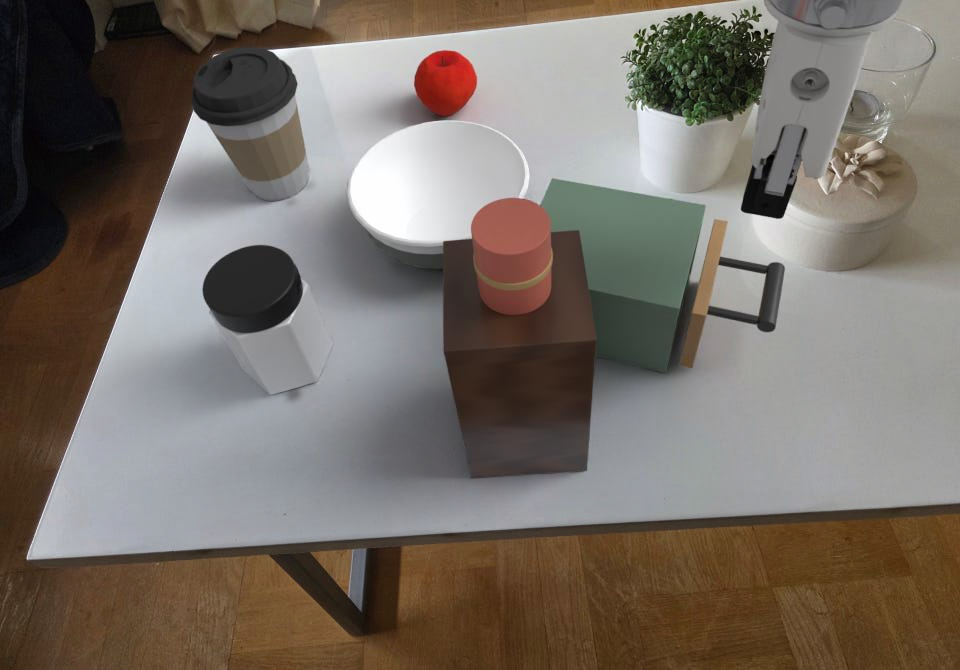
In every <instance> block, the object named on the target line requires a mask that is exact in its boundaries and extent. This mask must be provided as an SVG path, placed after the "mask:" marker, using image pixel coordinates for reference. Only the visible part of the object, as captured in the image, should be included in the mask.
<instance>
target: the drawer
mask: <svg viewBox="0 0 960 670" xmlns="http://www.w3.org/2000/svg"><path fill="white" fill-rule="evenodd" d="M728 223H729V222H728V220H722V219H717V218H715V219H713V223H712V227H711V231H710V236H709V240H708V244H707V248H706V252H705V256H704V260H703V264H702V268H701V273H700V277H699V281H698V285H697V289H696V293H695V298H694V302H693V306H692V309H691V314H690V318H689V323H688V326H687V331H686V335H685V339H684V343H683V347H682V352H681V356H680V359H679V366H681V367H685V368H689V369H693V368H694V363H695V361H696V356H697V353H698V350H699V345H700V341H701V339H702V334H703V330H704V326H705V323H706V319H707V315H708V316H713V317H717V318H721V319H726V320H732V321H736V322H740V323H745V324H748V325H749V324H750V325H755V326H756V328H757V329H758V331H761V332H762V333H772V332H773V331H775V330H776V327H777V322H778V315H779V310H780V304H781V303H780V302H781V298H782V297H781V296H782V291H783V285H784V277H785V270H786V267H785V265H784V264H783V263H781V262H778V261H773V262H770V263H769V264H768V265H766V264H761V263H756V262H751V261H745V260H740V259H736V258H730V257H725V256H721V253H722V249H723V244H724V241H725V237H726V231H727V227H728ZM718 266H721V267H725V268H731V269H736V270H741V271H748V272H751V273H757V274H762V275H765V277H764V283H763V288H762V289H763V290H762V294H761V298H760V299H761V300H760V305H759V311H758V315H755V314H750V313H746V312H742V311H738V310H737V311H736V310H731V309H728V308H722V307H717V306H713V305H710V302H711V297H712V293H713V288H714V285H715V279H716V276H717V272H718V268H719V267H718Z"/></svg>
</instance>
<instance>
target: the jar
mask: <svg viewBox="0 0 960 670" xmlns="http://www.w3.org/2000/svg"><path fill="white" fill-rule="evenodd" d="M201 291H202V296H203V297H202V298H203V300H204V302H205V304H206V305H207V308H208V309H209V310H208V314H209V316H210V317H211V319H212V320H213V323H214V324H215V325H216V327H217V329H218V330H219V332H220V334H221V335H222V337H223V338H224V340H225V342H226V343H227V345H228V347H229V348H230V351H232V353H233V355H234V356H235V358H236V360H237V361H238V363H239V364H240V366H241V368H242V369H243V371H244V372H246V374H247V375H249V376H250V378H252V379H253V380H254V381H255V382H256V383H257V384H258V385H259V386H261V387H262V388H263V390H264V391H265V392H266V393H268V394H269V395H271V396H273V395H276V394H277V395H278V394H280V393H283V392H286V391H290V390H293V389H297V388H301V387H303V386H307V385H311V384H315V383H316V382H318V381H319V378H320V376H321V374H322V372H323V369H324V367H325V365H326V362H327V360H328V358H329V355H330V353H331V350H332V349H333V345H334V343H333V341H332V338H331V336H330V332H329V331H328V329H327V326H326V324H325V321H324V319H323V317H322V314H321V312H320V310H319V307H318V305H317V303H316V300H315V298H314V295H313V293H312V290H311V288H310V285H309V283H307V282H306V281H305V280H303V279H302V276H301V274H300V271H299V269H298V267H297V265H296V263H295V262H294V260H293V258H292V257H291V256H290V255H289V253H287V251H284V250H283V249H281V248H278V247H276V246H273V245H267V244H254V245H249V246H248V245H247V246H244V247H241V248H238V249H235V250H232V251H231V252H229V253H227V254H225V255H224V256H222V257H221V258H220V259H218V260H217V261H215V263H214V264H213V265H212V266H211V268H210V269H209V270H208V272H207V273H206V275H205V277H204V280H203V282H202V289H201Z"/></svg>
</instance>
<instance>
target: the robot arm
mask: <svg viewBox="0 0 960 670" xmlns="http://www.w3.org/2000/svg"><path fill="white" fill-rule="evenodd" d="M902 3H903V0H763V4H764V6H765V8H766V10H767V12H768V13H769V14H770V15H771V16H772V17H773V18H774V19H776V20H777V25H776V28H775V32H774V35H773V39H772V44H771V48H770V52H769V55H768V60H767V64H766V69H765V73H764V76H763V82H762V87H761V92H760V97H759V103H758V107H757V115H756V121H755V127H754V134H753V141H752V150H751V157H750V162H751V164H752V165H751V168H750V172H749V175H748V178H747V182H746V185H745V189H744V191H743V195H742V202H741V204H740V210H741V212H742V213H745V214H749V215H756V216H761V217H766V218H772V219H777V220H780V219H783V218H784V216H785V214H786V210H787V208H788V205H789V203H790V201H791V197H792V194H793V192H794V189H795V186H796V183H797V181H798V173H799V170H800V167H801V165H802V167H803V171H804V172H803V173H804V177H805V178H810V179H811V178H812V179H814V180H818V179H820V178H822V177H824V176H825V175H826V173H827V171H828V168H829V164H830V162H831V158H832V156H833V153H834V151H835V147H836V145H837V141H838V138H839V136H840V133H841V129H842V126H843V124H844V121H845V118H846V117H847V113H848V110H849V107H850V104H851V102H852V99H853V97H854V93H855V90H856V87H857V85H858V81H859V78H860V75H861V71H862V68H863V66H864V62H865V58H866V55H867V52H868V49H869V46H870V42H871V37H872V34H873V33H875V32H879V31H880V30H882V29H884V28H886V27H887V26H889V25H890V24H891V23H892V22H893V21H894V20H895V18H896V16H897V15H898V12H899V10H900V7H901V5H902Z"/></svg>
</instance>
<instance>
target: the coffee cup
mask: <svg viewBox="0 0 960 670" xmlns="http://www.w3.org/2000/svg"><path fill="white" fill-rule="evenodd" d="M192 82H193V85H192V89H191V90H190V100H191V105H192V108H193V112H194V113H195V114H196V116H197V117H198V118H199V119H200V120H202V121H204V122H206V124H207V125H208V127H209V128H210V130H211V132H212V133H213V135H214V137H215V138H216V139H217V141H218V143H219V144H220V145H221V147H222V149H223V150H224V152H225V154H226V156H227V157H228V158H229V159H230V162H231V163H232V164H233V166H234V168H235V169H236V170H237V172H238V173H239V175H240V176H241V178H242V180H243V181H244V183H245V185H246V186H247V187H248V189H249V190H250V191H251V192H252V193H253V194H254V195H255V197H257V198H259V199H261V200H264V201H269V202H276V201H277V202H278V201H283V200H287V199H291V198H293V197H294V196H295V195H298V194H299V193H300V192H301V191H302V190H304V188H305V187H306V186H307V184H308V182H309V178H310V173H309V172H310V167H309V162H308V155H307V151H306V146H305V140H304V135H303V129H302V125H301V124H302V123H301V119H300V114H299V108H298V104H297V99H296V98H297V97H296V92H297V88H298V85H299V83H298V80H297V77H296V74H295V73H293V69H292V67H291V66H290V65H289V64H288V63H287V62H286V61H284V59H281V58H280V57H278V56H277V54H275V52H274V51H271V50H268V49H266V48H263V47H256V46H244V47H237V48H232V49H229V50H225V51H223V52H220V53H217V54H216V55H214V56H211V58H209V59H208V60H206V61H205V62H204V63H203V64H202V65H200V67H199V68H198V69H197V70H196V72H195V74H194V77H193V79H192Z"/></svg>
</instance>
